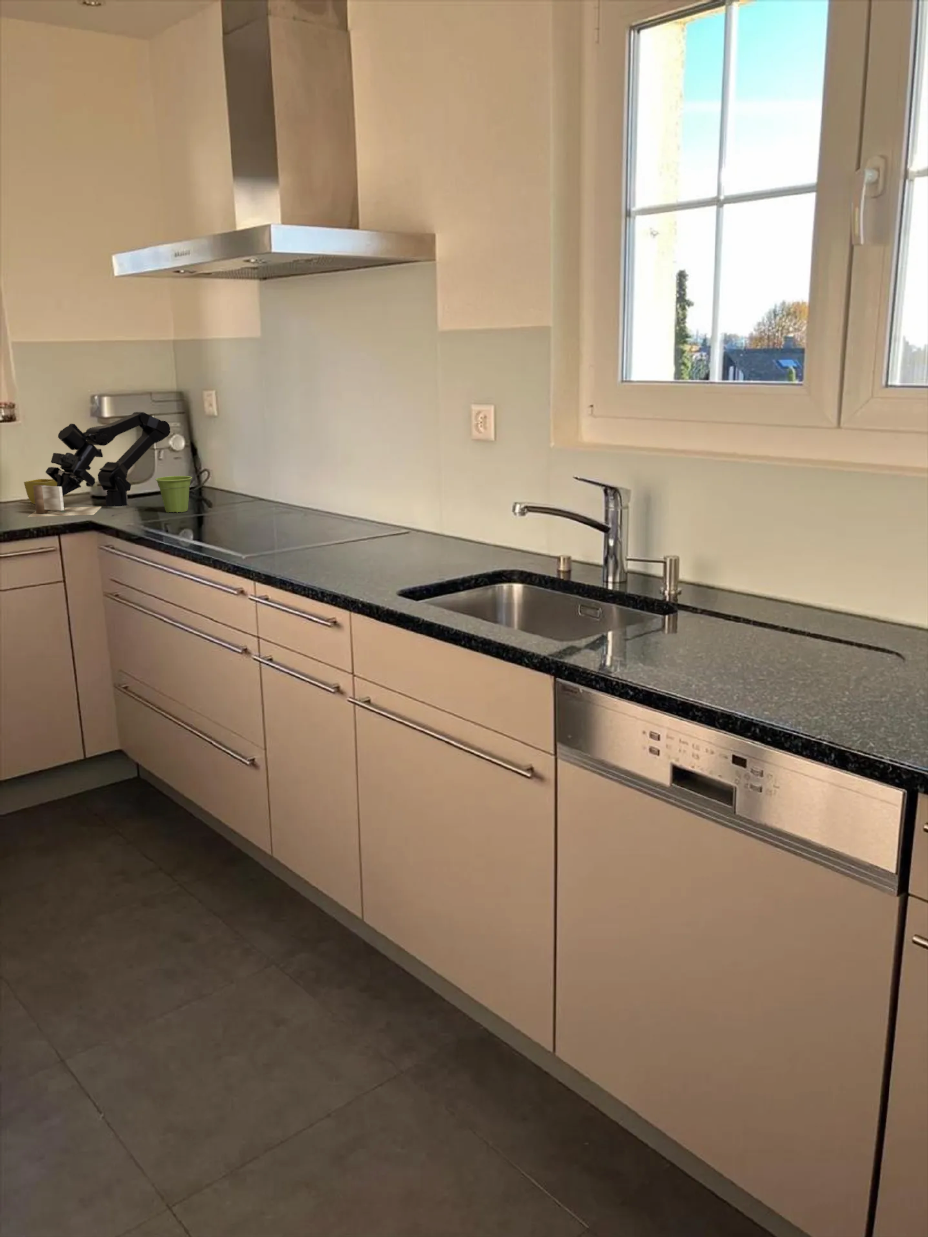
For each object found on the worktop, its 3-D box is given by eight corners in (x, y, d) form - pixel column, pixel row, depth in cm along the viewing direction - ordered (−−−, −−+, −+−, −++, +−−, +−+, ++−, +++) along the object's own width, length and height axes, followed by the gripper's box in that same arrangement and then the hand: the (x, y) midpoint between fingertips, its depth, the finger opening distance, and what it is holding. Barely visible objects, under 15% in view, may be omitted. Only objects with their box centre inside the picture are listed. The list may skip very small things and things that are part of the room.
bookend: (33, 513, 328) (30, 486, 326) (53, 509, 336) (50, 482, 334) (59, 514, 325) (56, 487, 322) (78, 510, 333) (75, 484, 330)
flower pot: (25, 507, 351) (22, 481, 349) (43, 503, 359) (40, 478, 357) (47, 508, 348) (44, 482, 346) (64, 504, 356) (61, 479, 354)
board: (102, 509, 344) (101, 506, 344) (93, 518, 327) (93, 514, 327) (39, 511, 341) (39, 508, 340) (28, 520, 323) (27, 516, 323)
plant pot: (170, 508, 347) (167, 475, 344) (201, 509, 344) (198, 476, 341) (150, 513, 336) (148, 479, 333) (182, 514, 333) (180, 480, 330)
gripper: (47, 442, 331) (20, 479, 326) (83, 444, 321) (56, 483, 316) (70, 463, 340) (45, 500, 334) (106, 466, 330) (81, 505, 324)
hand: (56, 497), depth 327 cm, fingers closed, pressing on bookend
